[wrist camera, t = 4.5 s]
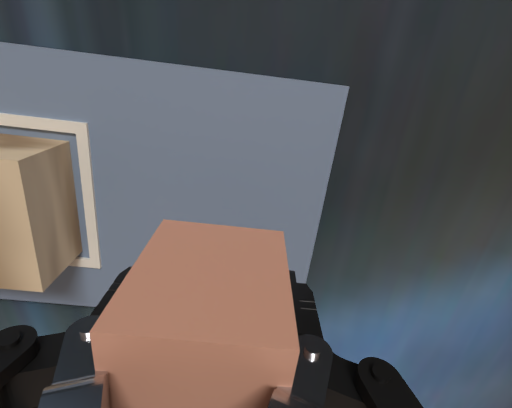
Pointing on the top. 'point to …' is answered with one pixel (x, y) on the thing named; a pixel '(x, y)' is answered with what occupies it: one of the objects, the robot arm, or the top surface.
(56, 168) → the beech base block
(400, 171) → the top surface
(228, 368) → the terracotta block
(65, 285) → the board
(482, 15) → the top surface
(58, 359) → the robot arm
